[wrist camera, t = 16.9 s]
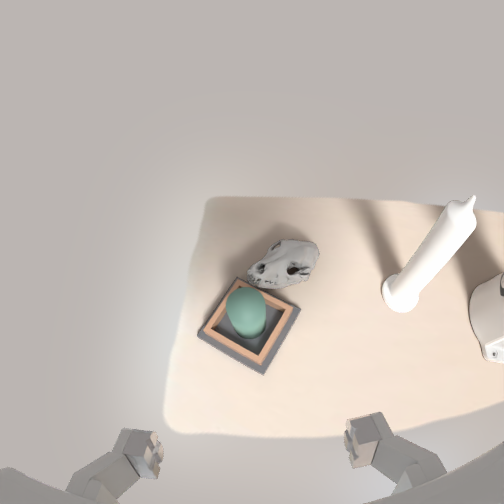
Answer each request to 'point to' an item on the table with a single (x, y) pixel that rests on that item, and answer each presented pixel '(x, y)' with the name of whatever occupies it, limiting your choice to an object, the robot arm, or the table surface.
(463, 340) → the table surface
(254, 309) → the green cylinder
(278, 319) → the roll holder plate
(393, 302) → the candle
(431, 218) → the table surface
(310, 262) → the skull
